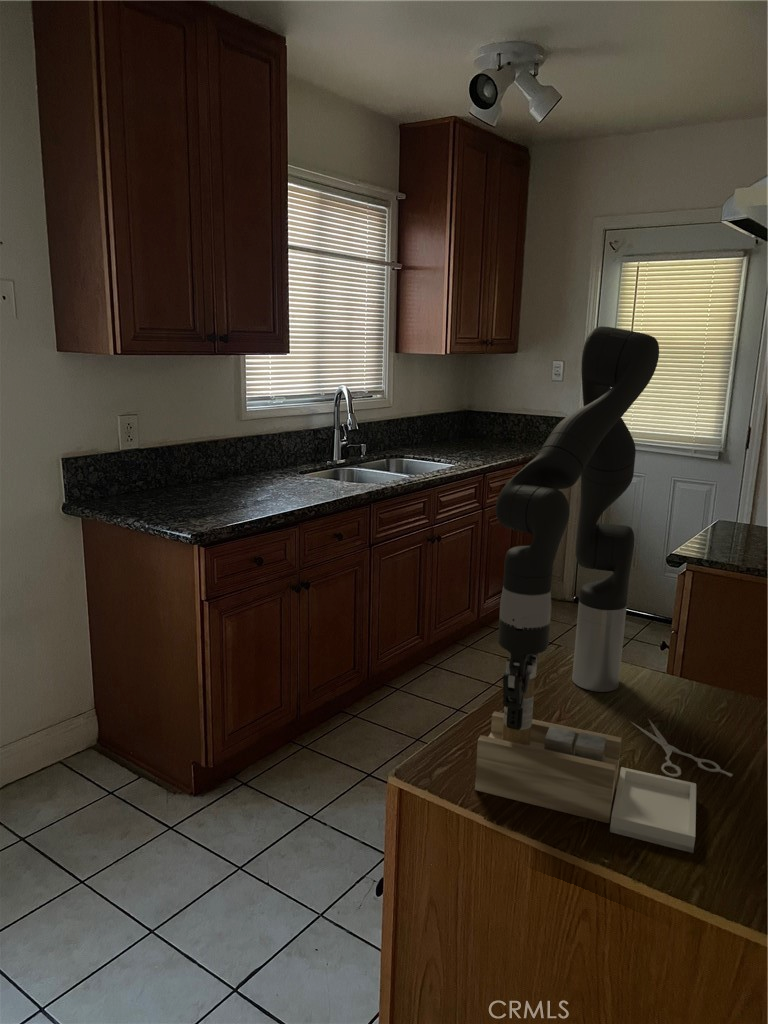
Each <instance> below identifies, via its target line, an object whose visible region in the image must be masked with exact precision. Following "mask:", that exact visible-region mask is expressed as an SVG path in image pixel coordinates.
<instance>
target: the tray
mask: <svg viewBox="0 0 768 1024" xmlns="http://www.w3.org/2000/svg"><path fill="white" fill-rule="evenodd" d="M696 815H697V783H695V782H691V781H687V780H681V779H678V778H674V777H670V776H664V775H659V774H655V773H649V772H647V771H646V772H645V771H641V770H637V769H632V768H627V767H623V766H621V767H620V772H619V776H618V780H617V787H616V792H615V797H614V802H613V807H612V812H611V817H610V825H609V833H613V834H617V835H620V836H624V837H629V838H632V839H636V840H641V841H644V842H648V843H652V844H656V845H660V846H664V847H668V848H671V849H676V850H679V851H683V852H687V853H690V854H691V853H692V854H694V849H695V842H696V824H697V821H696V819H697V816H696Z"/></svg>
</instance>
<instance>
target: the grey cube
mask: <svg viewBox="0 0 768 1024" xmlns="http://www.w3.org/2000/svg"><path fill="white" fill-rule="evenodd" d="M575 739H576V732H575V731H571V730H566V729H561V728H556V727H552V726H550V727H549V729H548V732H547V734H546V737H545V744H544V749H545V750H550V751H554V752H559V753H563V754H568V755H572V756H574V750H575Z"/></svg>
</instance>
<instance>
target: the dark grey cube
mask: <svg viewBox="0 0 768 1024" xmlns="http://www.w3.org/2000/svg"><path fill="white" fill-rule="evenodd" d="M605 748H606V738H604V737H599V736H594V735H590V734H585V733H580V732H579V735H578V738H577V741H576V744H575V755H574V756H577V757H582V758H586V759H591V760H595V761H600V762H604V758H605Z"/></svg>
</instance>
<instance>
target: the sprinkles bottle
mask: <svg viewBox="0 0 768 1024" xmlns="http://www.w3.org/2000/svg"><path fill="white" fill-rule="evenodd" d="M531 663H532V662H531ZM537 667H538V666H537V665H536V664H535V663H534V667H533V672H532V674H531V675H530V685H529V691H528V692H526V693H525V698H524V706H523V716H522V727H521V729H520V730H515V729H511V728H508V727H507V725H506V724H507V709H508V707H504V706H503V713H504V718H503V722H504V724H503V735H502V740H505V741H509V742H514V743H518V744H523V745H527V746H529V745H530V743H531V740H530V732H531V725H532V719H533V712H534V711H533V709H534V698H535V682H536V676H537V670H538V669H537ZM526 671H527V670H526ZM505 673H506V674H507V670H506V669H505ZM525 679H526V676H525ZM524 685H525V682H524V683H522V684H521V687H524ZM511 698H515V697H511ZM515 699H516V698H515Z"/></svg>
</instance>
